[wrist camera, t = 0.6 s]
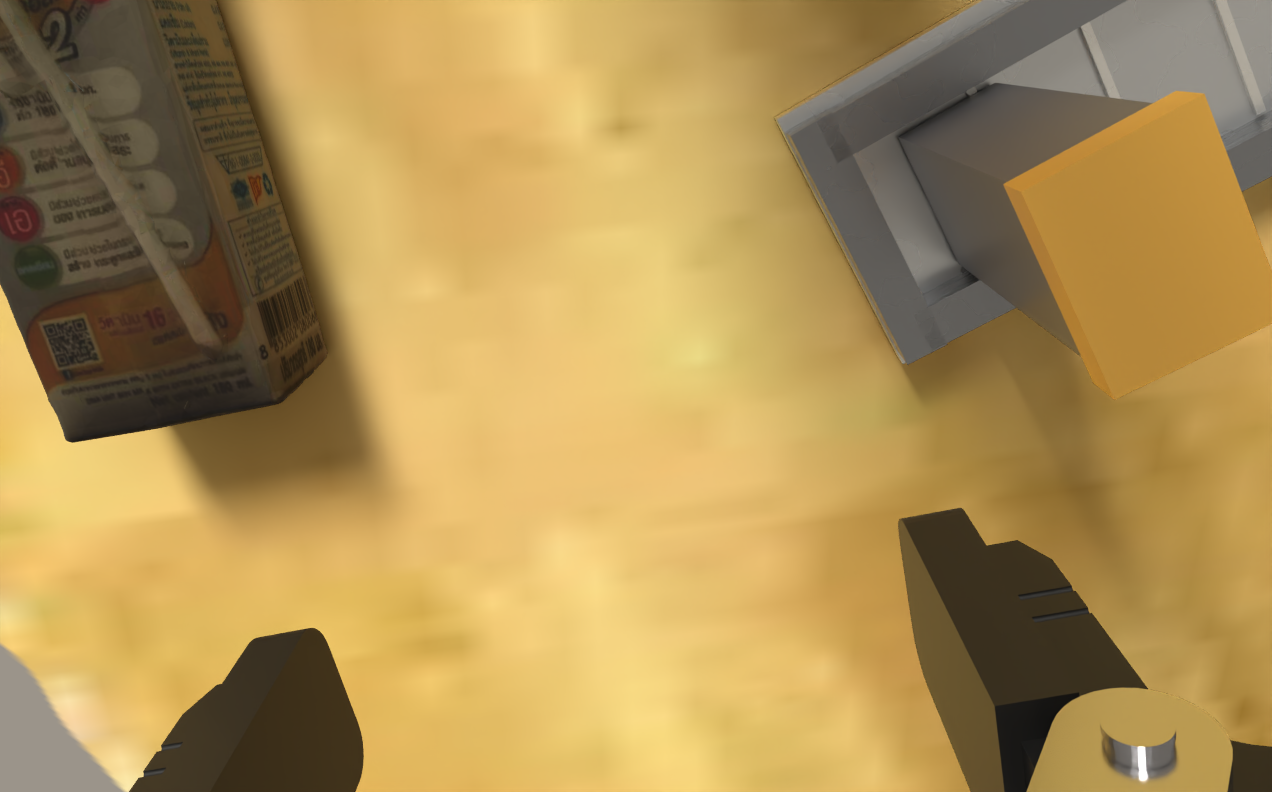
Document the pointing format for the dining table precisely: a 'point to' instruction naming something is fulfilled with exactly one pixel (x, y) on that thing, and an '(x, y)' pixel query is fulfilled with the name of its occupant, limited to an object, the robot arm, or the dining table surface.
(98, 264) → the beverage carton
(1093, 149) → the fader tab
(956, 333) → the fader console
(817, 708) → the dining table surface
